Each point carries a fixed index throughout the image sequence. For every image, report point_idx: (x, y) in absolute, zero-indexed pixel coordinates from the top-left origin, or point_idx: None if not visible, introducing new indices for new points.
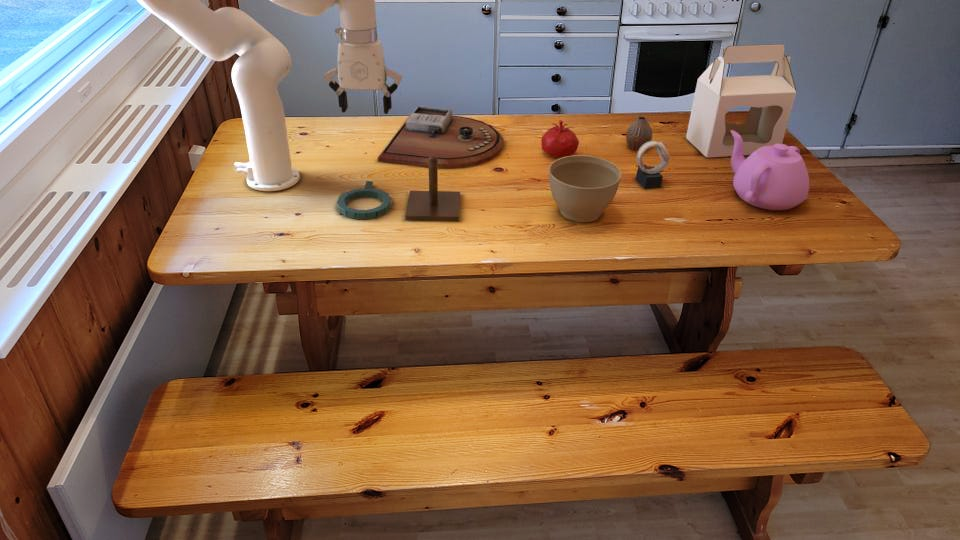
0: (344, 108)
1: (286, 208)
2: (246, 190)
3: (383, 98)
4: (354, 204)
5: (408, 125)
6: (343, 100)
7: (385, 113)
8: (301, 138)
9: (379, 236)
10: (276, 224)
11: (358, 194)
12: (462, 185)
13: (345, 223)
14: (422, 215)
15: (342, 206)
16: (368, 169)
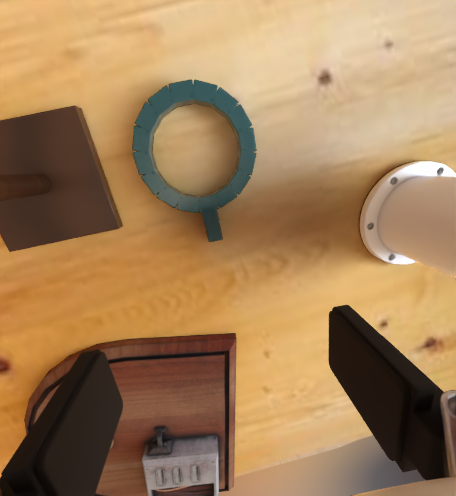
0: (342, 322)
1: (355, 100)
2: (450, 159)
3: (39, 456)
4: (220, 155)
5: (212, 446)
6: (380, 360)
7: (92, 350)
8: None
9: (105, 6)
10: (359, 14)
11: (222, 187)
12: (36, 291)
13: (209, 58)
14: (34, 115)
15: (233, 106)
16: (242, 301)
